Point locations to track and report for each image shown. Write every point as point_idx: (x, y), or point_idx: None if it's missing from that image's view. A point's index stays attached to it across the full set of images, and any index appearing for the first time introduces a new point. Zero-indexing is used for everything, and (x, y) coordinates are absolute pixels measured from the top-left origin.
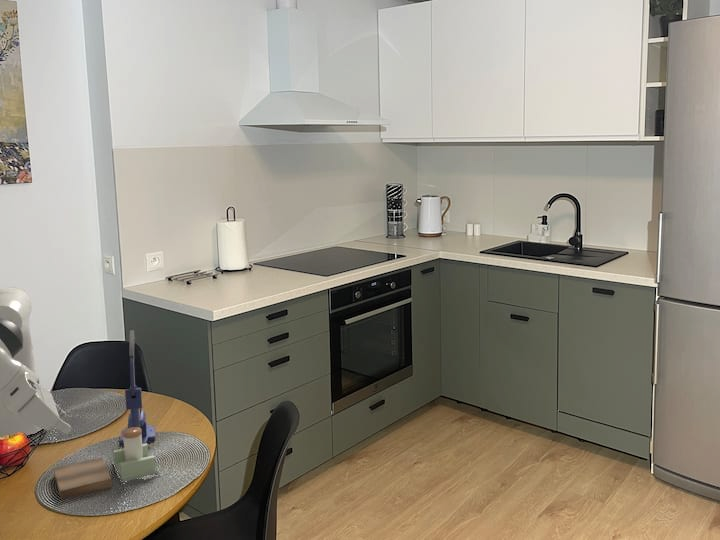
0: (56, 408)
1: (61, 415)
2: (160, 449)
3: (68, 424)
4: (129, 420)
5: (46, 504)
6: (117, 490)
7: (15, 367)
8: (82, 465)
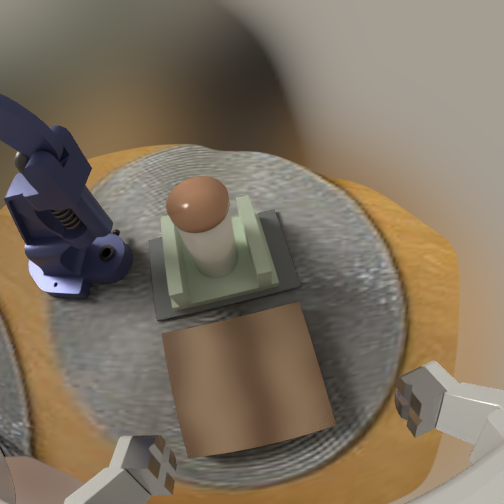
0: (421, 502)
1: (160, 464)
2: (139, 218)
3: (413, 386)
4: (76, 236)
5: (334, 451)
6: (308, 296)
7: None
8: (194, 384)
